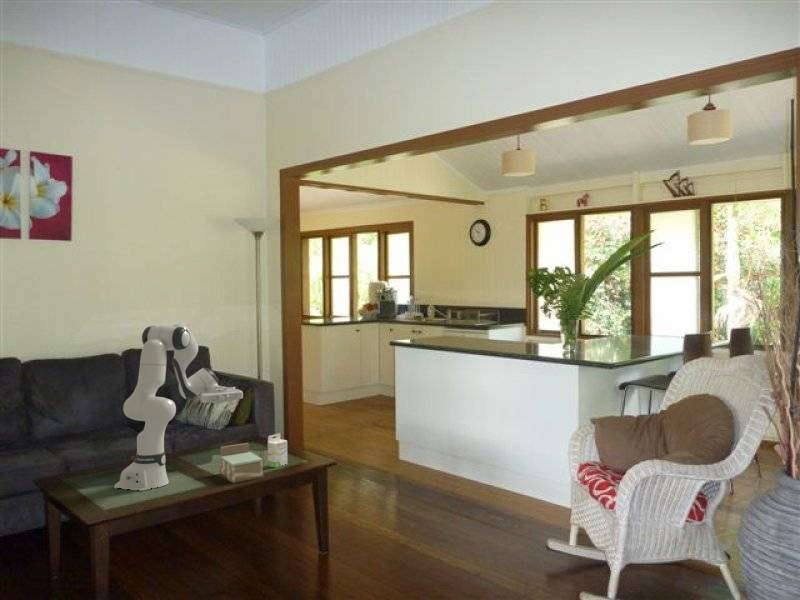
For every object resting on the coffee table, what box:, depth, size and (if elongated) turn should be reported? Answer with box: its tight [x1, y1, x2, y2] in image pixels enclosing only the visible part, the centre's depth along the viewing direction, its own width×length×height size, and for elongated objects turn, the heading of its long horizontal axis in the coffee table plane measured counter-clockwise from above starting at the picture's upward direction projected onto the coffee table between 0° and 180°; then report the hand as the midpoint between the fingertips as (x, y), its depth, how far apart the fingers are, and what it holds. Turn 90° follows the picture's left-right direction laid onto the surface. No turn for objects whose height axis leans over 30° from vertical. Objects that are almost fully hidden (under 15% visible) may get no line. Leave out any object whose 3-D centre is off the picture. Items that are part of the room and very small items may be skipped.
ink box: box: [267, 432, 288, 469], centre depth 315 cm, size 9×5×15 cm, turn 143°
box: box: [219, 457, 264, 484], centre depth 300 cm, size 18×14×7 cm
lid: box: [219, 442, 264, 466], centre depth 299 cm, size 18×14×5 cm
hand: (226, 398), depth 314 cm, fingers closed
